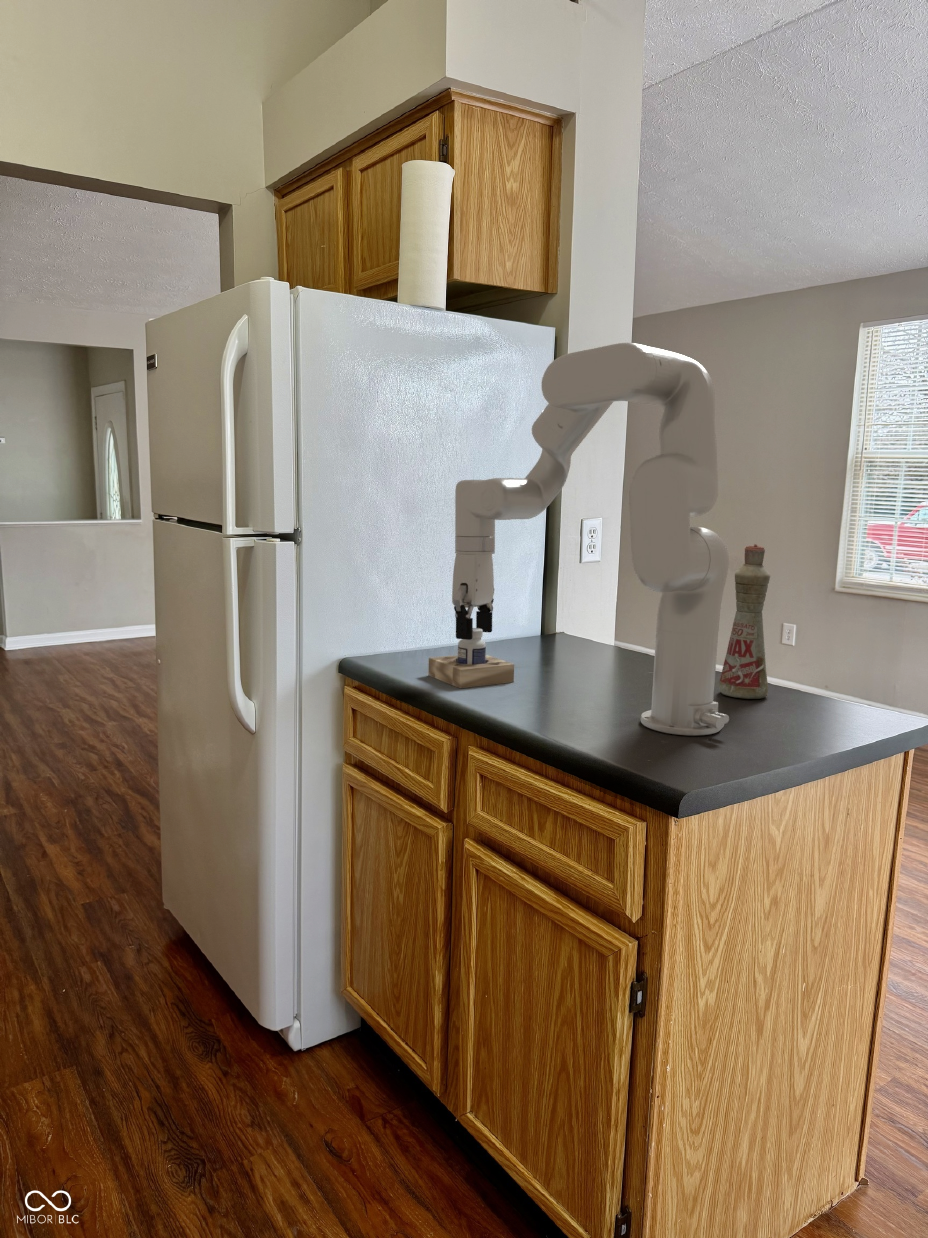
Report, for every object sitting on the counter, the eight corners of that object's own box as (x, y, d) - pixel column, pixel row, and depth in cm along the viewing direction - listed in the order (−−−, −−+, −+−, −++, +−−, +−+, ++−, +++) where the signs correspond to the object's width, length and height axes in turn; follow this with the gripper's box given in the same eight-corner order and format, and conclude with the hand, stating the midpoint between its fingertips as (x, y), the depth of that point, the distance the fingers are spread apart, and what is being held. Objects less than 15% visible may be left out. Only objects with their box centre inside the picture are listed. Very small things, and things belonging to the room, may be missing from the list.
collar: (513, 682, 168) (514, 664, 168) (459, 688, 162) (460, 669, 162) (480, 669, 179) (480, 652, 178) (428, 675, 172) (428, 657, 172)
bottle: (779, 697, 162) (791, 545, 157) (745, 703, 157) (757, 546, 152) (741, 687, 169) (753, 541, 164) (708, 692, 164) (719, 542, 160)
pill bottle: (486, 676, 173) (487, 627, 171) (483, 682, 167) (485, 632, 166) (458, 675, 173) (459, 626, 172) (455, 681, 168) (456, 631, 166)
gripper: (474, 543, 176) (474, 628, 178) (437, 547, 160) (437, 640, 162) (509, 544, 173) (508, 630, 175) (475, 548, 157) (474, 643, 159)
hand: (474, 635), depth 169 cm, fingers open, 9 cm apart
